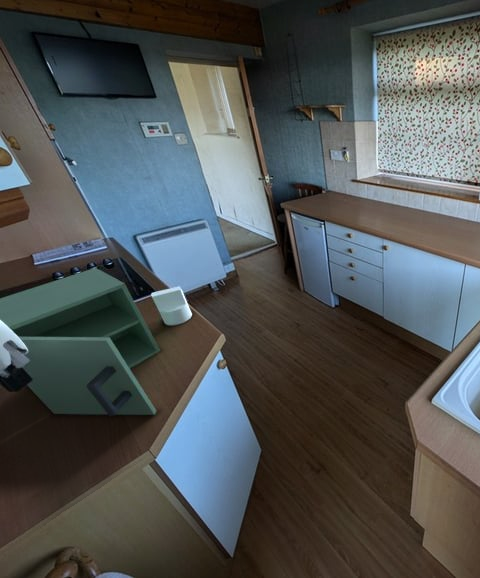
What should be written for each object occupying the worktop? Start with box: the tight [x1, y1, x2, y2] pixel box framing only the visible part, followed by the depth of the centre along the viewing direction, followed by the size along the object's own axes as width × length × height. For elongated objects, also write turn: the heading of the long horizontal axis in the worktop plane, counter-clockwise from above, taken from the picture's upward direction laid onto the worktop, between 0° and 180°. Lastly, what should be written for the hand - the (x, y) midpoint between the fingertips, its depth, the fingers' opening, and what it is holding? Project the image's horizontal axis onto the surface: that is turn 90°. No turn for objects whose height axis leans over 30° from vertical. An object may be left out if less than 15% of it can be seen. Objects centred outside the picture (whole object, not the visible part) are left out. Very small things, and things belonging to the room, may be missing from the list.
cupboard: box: [0, 267, 161, 370], centre depth 83 cm, size 18×26×26 cm
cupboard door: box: [19, 337, 157, 417], centre depth 67 cm, size 7×26×26 cm, turn 90°
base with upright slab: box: [150, 285, 193, 326], centre depth 108 cm, size 9×9×12 cm
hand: (21, 385), depth 58 cm, fingers closed
